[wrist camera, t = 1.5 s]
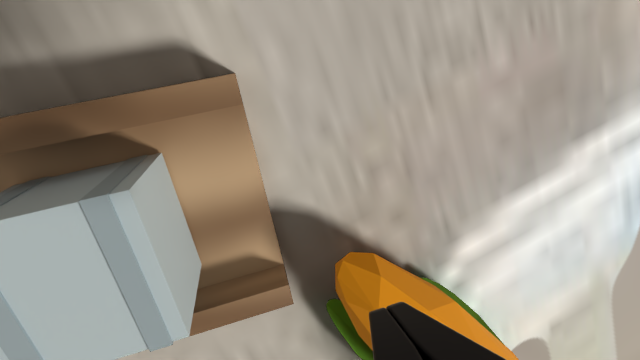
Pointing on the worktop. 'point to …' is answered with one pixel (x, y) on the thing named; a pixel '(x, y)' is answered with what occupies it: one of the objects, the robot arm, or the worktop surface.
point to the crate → (95, 264)
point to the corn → (392, 287)
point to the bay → (173, 179)
